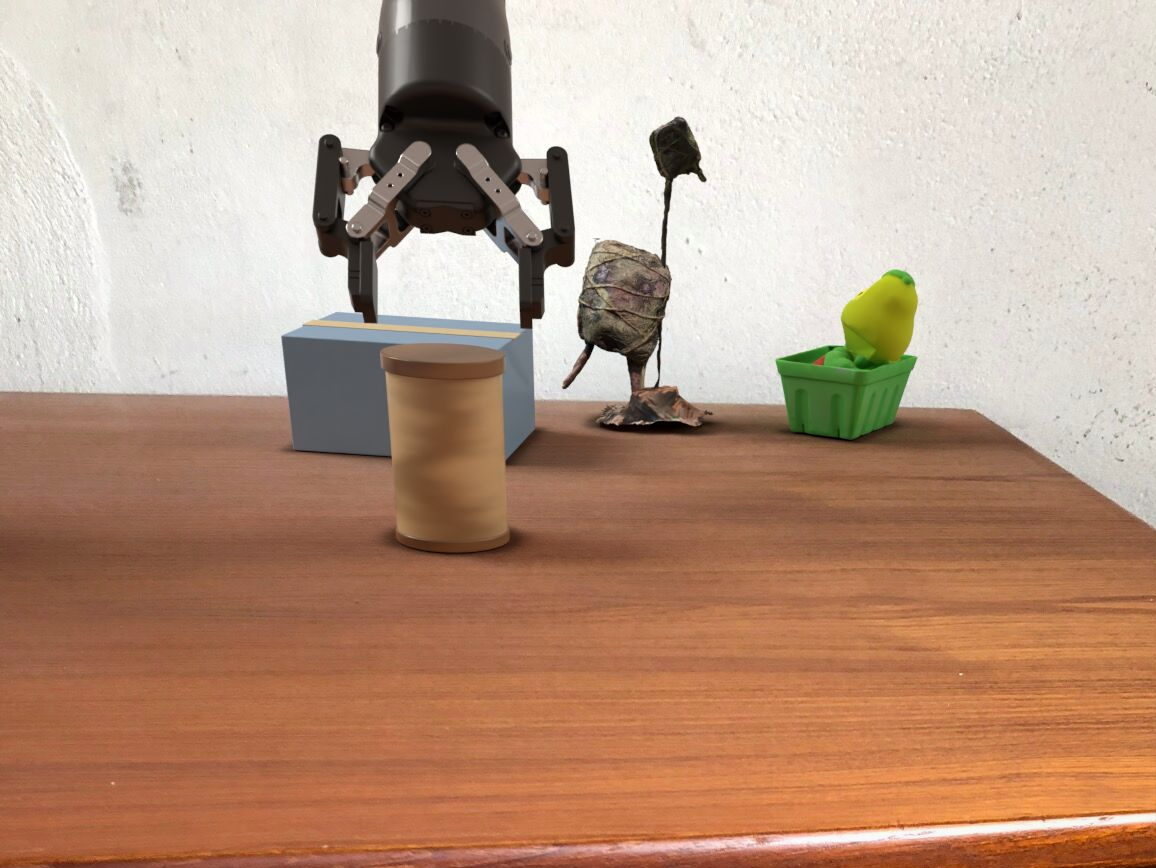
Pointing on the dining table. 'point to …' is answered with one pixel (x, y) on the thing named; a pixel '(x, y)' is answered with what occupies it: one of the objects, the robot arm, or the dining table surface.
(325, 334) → the blue box
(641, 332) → the brown bird sculpture
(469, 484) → the tan lidded canister
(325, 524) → the dining table surface
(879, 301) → the fruit basket
